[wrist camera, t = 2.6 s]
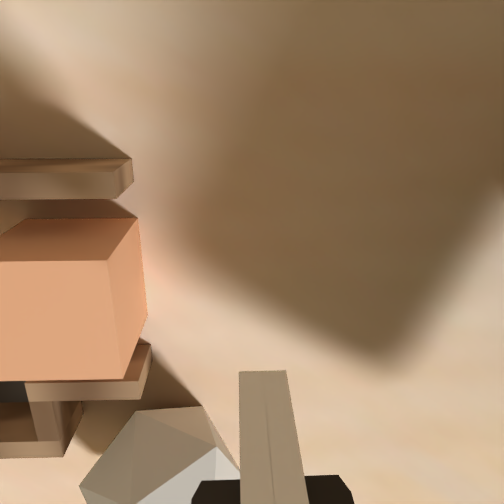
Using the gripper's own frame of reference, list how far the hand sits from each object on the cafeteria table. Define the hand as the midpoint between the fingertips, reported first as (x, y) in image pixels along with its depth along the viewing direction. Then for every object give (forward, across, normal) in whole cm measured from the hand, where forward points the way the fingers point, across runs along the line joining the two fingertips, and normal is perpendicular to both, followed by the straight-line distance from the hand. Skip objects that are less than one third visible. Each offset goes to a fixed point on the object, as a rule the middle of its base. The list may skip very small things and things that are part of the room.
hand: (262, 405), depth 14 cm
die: (+12, +5, +12) cm, 18 cm away
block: (+12, +9, 0) cm, 15 cm away
